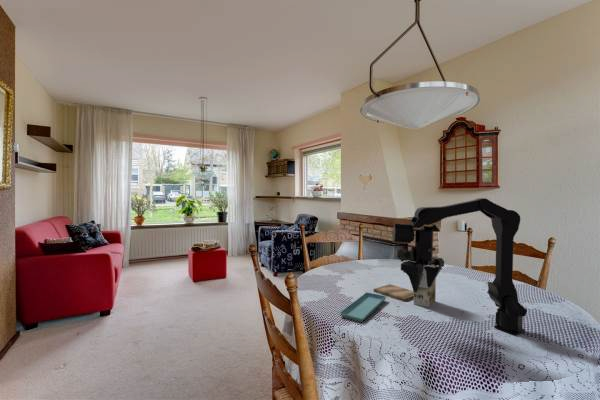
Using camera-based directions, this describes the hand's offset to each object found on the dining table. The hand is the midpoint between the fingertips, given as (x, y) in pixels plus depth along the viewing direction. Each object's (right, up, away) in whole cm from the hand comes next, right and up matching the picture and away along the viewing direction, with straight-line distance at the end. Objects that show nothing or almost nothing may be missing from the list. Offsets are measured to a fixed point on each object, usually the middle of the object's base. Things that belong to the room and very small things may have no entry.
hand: (422, 289), depth 102 cm
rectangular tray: (-17, -13, +15) cm, 25 cm away
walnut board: (+1, -12, +32) cm, 34 cm away
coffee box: (+10, -12, +21) cm, 26 cm away
